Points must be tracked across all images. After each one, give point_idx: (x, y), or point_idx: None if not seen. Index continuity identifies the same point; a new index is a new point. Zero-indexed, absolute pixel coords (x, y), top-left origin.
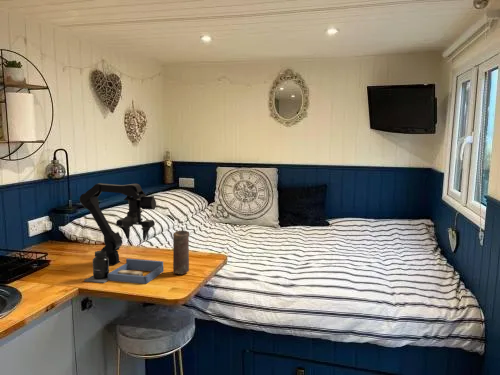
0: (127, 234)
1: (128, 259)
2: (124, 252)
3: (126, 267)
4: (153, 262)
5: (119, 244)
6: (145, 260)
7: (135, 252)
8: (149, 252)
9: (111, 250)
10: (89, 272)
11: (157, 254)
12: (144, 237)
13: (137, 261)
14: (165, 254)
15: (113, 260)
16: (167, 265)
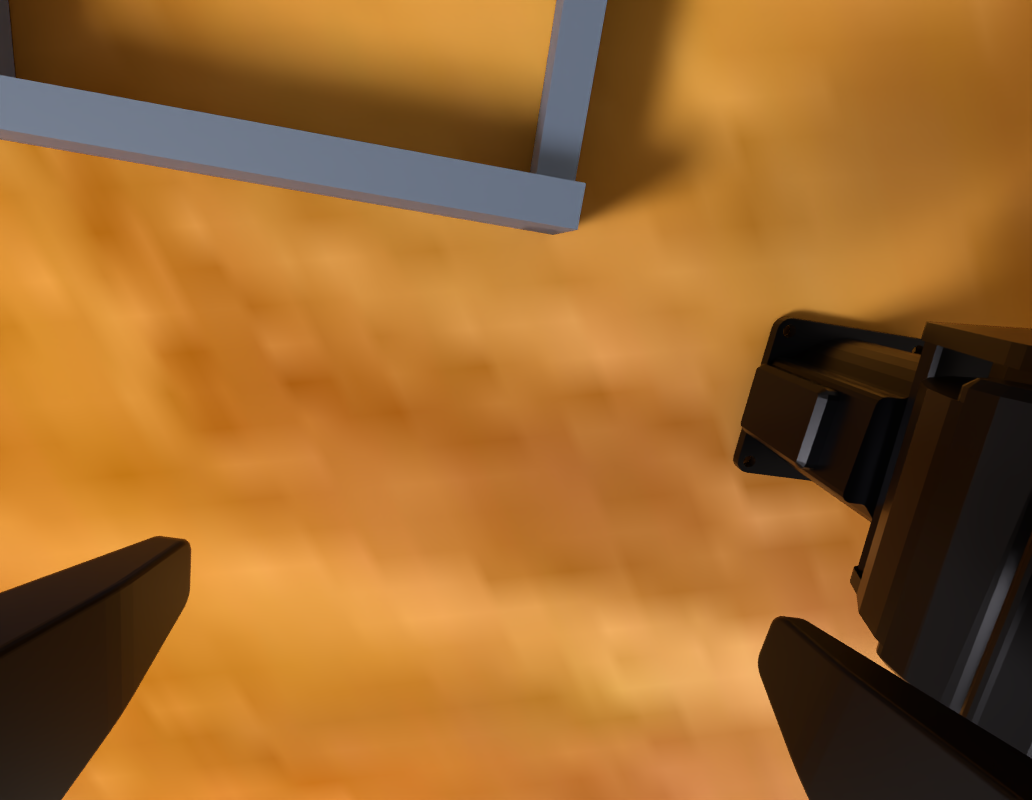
0: (905, 766)
1: (538, 175)
2: (782, 750)
3: (539, 126)
4: (3, 77)
5: (906, 531)
6: (184, 130)
7: (666, 764)
8: (515, 782)
9: (973, 332)
10: (1014, 23)
11: (398, 738)
12: (26, 595)
13: (357, 145)
14: (307, 749)
15: (815, 366)
16: (72, 394)
